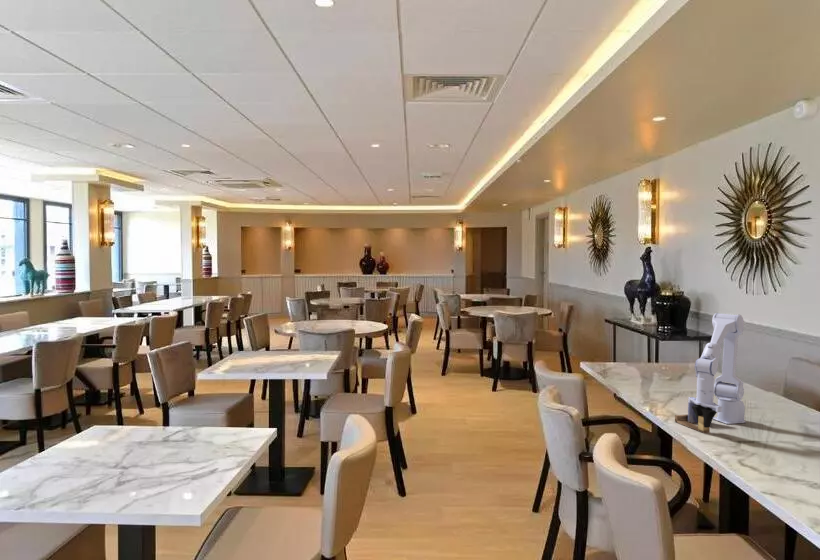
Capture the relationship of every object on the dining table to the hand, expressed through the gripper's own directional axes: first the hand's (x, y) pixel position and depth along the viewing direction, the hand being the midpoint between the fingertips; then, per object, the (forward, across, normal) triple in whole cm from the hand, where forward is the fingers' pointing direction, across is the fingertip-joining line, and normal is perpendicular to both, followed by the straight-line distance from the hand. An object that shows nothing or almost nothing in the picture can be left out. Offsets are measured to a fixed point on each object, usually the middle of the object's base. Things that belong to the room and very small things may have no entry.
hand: (703, 425), depth 212 cm
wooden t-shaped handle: (+2, -6, +4) cm, 8 cm away
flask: (+3, -11, +8) cm, 14 cm away
